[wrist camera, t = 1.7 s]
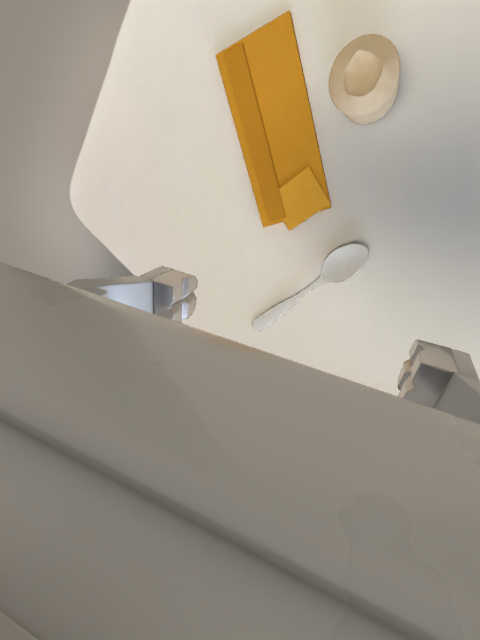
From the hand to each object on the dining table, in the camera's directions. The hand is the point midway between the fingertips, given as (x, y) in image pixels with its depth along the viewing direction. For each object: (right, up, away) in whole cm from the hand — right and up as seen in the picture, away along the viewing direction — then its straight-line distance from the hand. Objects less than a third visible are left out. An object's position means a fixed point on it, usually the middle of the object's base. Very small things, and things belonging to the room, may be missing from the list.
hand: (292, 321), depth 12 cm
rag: (+2, +22, +27) cm, 35 cm away
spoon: (+7, +4, +34) cm, 35 cm away
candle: (+12, +24, +22) cm, 34 cm away
